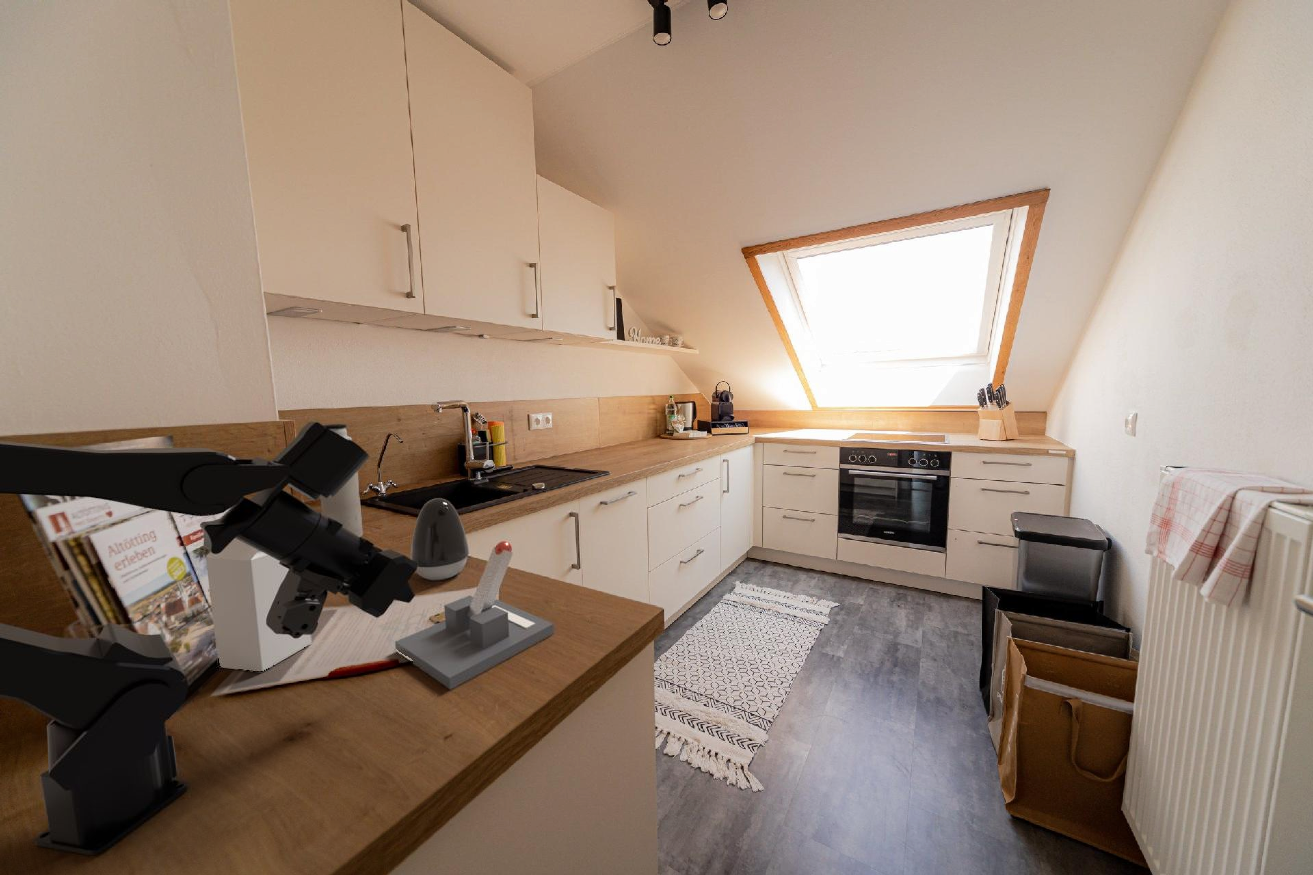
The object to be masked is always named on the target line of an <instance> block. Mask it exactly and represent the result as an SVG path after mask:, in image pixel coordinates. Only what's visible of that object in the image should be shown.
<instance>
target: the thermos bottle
mask: <svg viewBox="0 0 1313 875" xmlns="http://www.w3.org/2000/svg"><path fill="white" fill-rule="evenodd" d="M322 425H323V424H322ZM323 426H324V427H326V428H327V429H329V430H332V431H334V432H335V433H337V434H339V435H341V436H342V437H344V438H345V439H348V440H352V436H348V430H347V424H344V423H343V424H342V423H341V424H339V423H334V424H324V425H323ZM352 441H353V440H352ZM359 487H360V486H359V470H358V471H357V472H356V473H355V475H354V476H353V477H352V478H351V479H350V480H349V481H348V482H347V483H346V484H345V485H344V487H343V488H342V489H341V490H340V491H339V492H338V493H337V494H336V495H335V496H334V498H330V497H328V498H327V499H326V498H324V497H322V496H319V497H320V498H319V499H320V506H321V513H322V514H323V515H325V516H326V517H329V518H331V519H334V520H336V521H337V522H339V523H341V524H342V525H343V527H344V528H346V529H347V530H349V531H351V532H352V533H354V534H356V535H357V536H359V537H361V538H362V536H363V534H364V530H363V522H362V521H363V519H362V510H361V499H360V493H359V492H360V489H359Z"/></svg>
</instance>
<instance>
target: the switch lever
mask: <svg viewBox="0 0 1313 875" xmlns="http://www.w3.org/2000/svg"><path fill="white" fill-rule="evenodd" d="M491 550H492V551H491V553H490V555H489V557H488V561H487V563H486V565H485V568H484V571H483V573H482V576H481V577H480V580H479V583H478V585H477V588H476V590H475V591H474V596H472V597H473V600H472V602H471V605H470V607H469V610H468V612H467V615H466V616H468V617H472V616H475V615H477V614H479V613H482V612H484V611H486V610H489V609H491V608H492V606H493V603H494V601H495V600H496V599H497V595H498V592H499V590H500V587H501V586H502V583H503V581H504V580H503V579H504V577H505V574H506V572H507V569H508V567H509V564H510V562H511V560H512V556H513V554H514V553H513V548H512V545H511V543H510V542H508V541H500V542H498V543H497V544H496V545H495V546H493V548H492V549H491Z"/></svg>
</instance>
